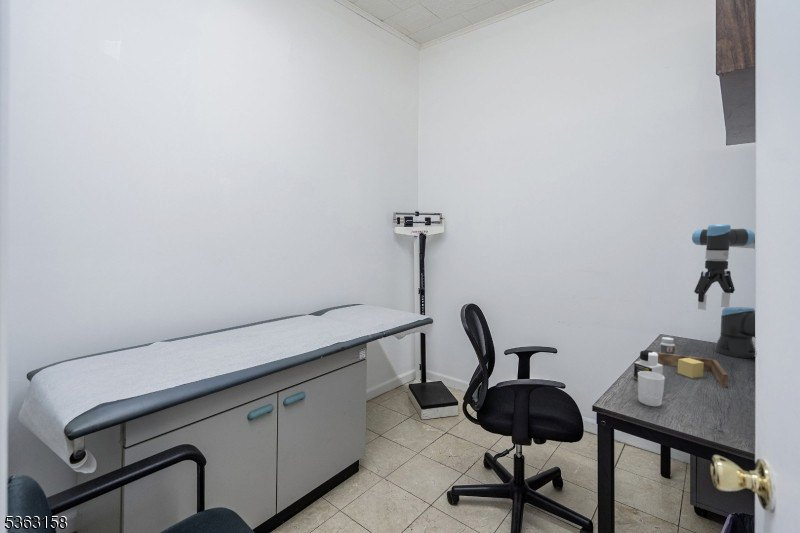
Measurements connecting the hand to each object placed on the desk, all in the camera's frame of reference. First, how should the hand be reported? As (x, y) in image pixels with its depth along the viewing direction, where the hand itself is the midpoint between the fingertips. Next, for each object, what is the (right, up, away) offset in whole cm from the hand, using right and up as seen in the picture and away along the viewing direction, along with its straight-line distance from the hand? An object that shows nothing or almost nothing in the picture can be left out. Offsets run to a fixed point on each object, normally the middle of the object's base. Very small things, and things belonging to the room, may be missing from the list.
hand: (713, 308), depth 160 cm
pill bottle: (-10, -26, +14) cm, 31 cm away
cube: (-15, -27, -6) cm, 32 cm away
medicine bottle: (-36, -28, -11) cm, 47 cm away
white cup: (-49, -30, -30) cm, 65 cm away
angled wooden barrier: (-15, -27, -5) cm, 32 cm away
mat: (-15, -28, -6) cm, 32 cm away
